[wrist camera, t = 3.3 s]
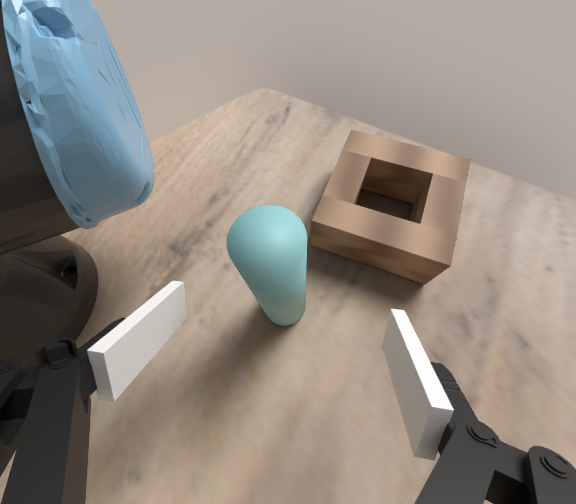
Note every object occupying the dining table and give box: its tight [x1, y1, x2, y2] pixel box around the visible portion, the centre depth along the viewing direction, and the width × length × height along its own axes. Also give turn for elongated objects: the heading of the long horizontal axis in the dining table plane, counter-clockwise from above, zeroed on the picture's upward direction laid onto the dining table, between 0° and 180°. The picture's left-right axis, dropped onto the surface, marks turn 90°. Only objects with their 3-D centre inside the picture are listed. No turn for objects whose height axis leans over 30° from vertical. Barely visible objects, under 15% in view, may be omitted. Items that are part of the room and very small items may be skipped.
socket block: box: [310, 130, 471, 284], centre depth 27 cm, size 12×12×5 cm
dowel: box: [227, 205, 307, 326], centre depth 19 cm, size 4×4×14 cm
